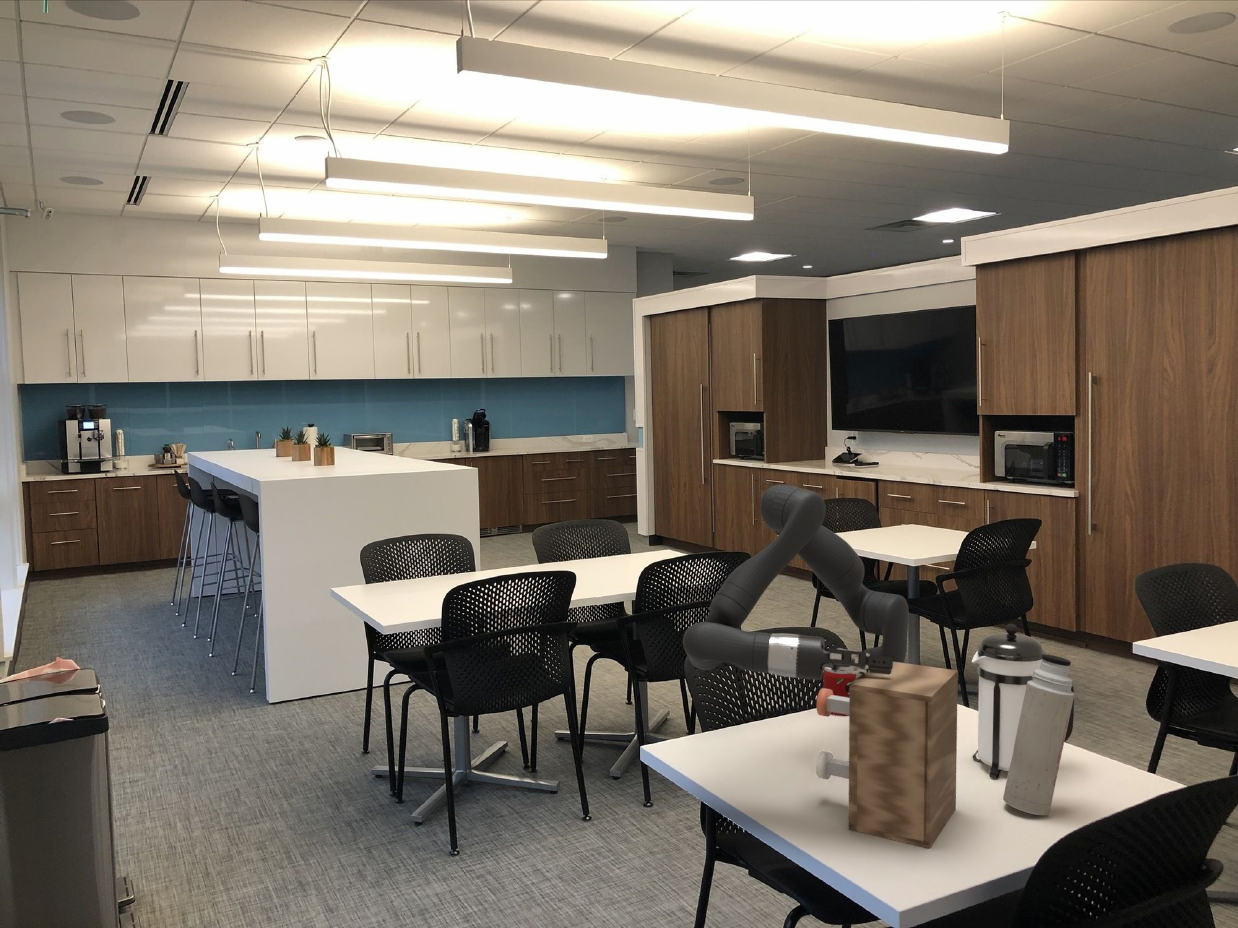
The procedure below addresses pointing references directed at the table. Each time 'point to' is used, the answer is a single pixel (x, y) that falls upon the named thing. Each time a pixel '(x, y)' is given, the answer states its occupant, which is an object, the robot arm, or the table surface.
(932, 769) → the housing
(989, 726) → the coffee press
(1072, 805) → the table surface
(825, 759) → the grey plunger
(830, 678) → the canned food
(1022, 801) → the thermos bottle
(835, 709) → the salmon round knob
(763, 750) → the table surface
